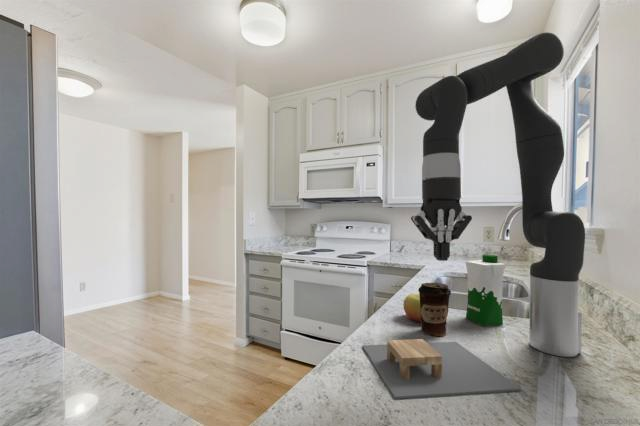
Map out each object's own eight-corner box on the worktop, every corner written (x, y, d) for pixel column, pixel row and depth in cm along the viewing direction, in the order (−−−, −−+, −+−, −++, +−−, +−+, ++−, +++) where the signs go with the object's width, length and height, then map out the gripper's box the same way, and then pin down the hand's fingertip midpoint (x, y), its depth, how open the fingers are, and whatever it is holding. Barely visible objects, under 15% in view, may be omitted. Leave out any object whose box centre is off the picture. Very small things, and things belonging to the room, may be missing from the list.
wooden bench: (422, 339, 65) (387, 340, 64) (442, 356, 57) (402, 358, 56) (421, 357, 65) (387, 358, 64) (441, 377, 57) (402, 379, 56)
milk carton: (508, 325, 87) (509, 257, 87) (483, 328, 84) (484, 258, 84) (483, 315, 95) (484, 253, 95) (460, 317, 92) (461, 254, 93)
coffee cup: (454, 340, 75) (455, 289, 75) (420, 337, 76) (420, 287, 77) (446, 328, 83) (447, 282, 84) (416, 325, 85) (416, 280, 85)
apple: (440, 318, 91) (440, 292, 92) (433, 328, 83) (434, 299, 83) (408, 312, 97) (408, 287, 97) (399, 320, 88) (399, 294, 89)
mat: (455, 343, 73) (456, 341, 73) (521, 390, 53) (521, 388, 53) (362, 347, 70) (362, 345, 70) (394, 399, 50) (394, 396, 50)
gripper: (459, 180, 66) (459, 256, 66) (403, 179, 65) (404, 258, 64) (481, 175, 59) (482, 262, 59) (419, 174, 57) (420, 264, 57)
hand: (441, 260), depth 62 cm, fingers closed
